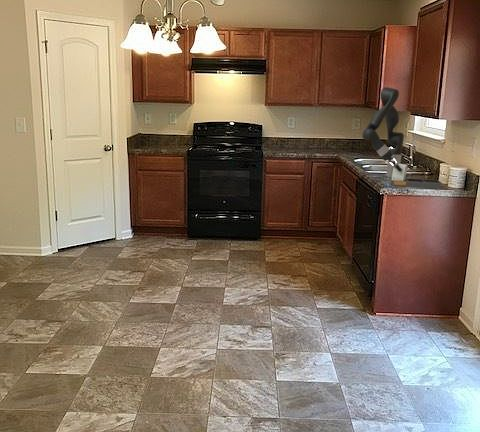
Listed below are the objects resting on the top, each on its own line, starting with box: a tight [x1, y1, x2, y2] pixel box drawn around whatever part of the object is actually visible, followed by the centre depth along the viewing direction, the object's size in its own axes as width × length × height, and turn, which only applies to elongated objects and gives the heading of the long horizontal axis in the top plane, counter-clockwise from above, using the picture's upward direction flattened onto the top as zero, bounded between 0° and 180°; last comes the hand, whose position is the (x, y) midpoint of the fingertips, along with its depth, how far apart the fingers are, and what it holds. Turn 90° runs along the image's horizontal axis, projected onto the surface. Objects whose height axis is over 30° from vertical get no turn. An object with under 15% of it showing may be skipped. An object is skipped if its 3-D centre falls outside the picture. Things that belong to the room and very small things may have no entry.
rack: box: [387, 177, 443, 190], centre depth 354 cm, size 12×34×4 cm, turn 83°
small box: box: [391, 163, 408, 181], centre depth 353 cm, size 8×6×13 cm
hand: (399, 169), depth 353 cm, fingers closed on small box, 8 cm apart
